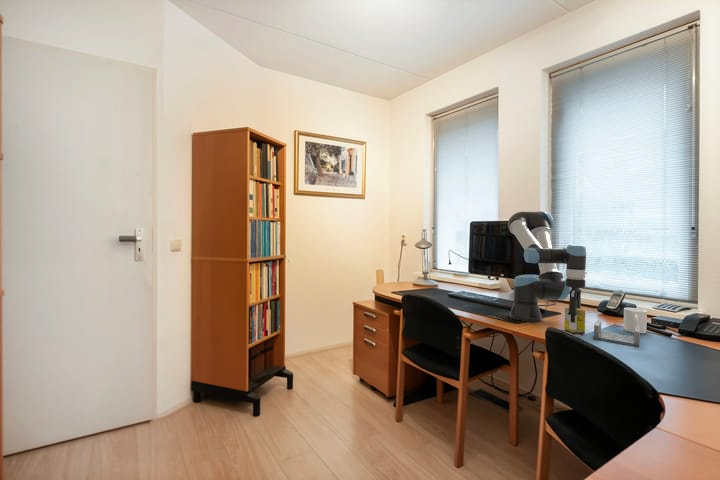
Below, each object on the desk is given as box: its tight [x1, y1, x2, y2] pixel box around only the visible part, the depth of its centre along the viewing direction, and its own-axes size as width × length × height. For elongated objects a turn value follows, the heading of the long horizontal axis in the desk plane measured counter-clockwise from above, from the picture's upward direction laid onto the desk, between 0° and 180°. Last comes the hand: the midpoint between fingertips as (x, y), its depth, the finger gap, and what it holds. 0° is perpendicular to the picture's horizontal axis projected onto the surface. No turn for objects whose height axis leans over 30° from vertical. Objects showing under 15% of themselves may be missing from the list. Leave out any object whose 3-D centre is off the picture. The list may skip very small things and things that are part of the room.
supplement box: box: [564, 306, 586, 335], centre depth 154 cm, size 6×6×11 cm
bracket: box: [593, 319, 641, 348], centre depth 144 cm, size 15×12×6 cm
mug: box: [623, 307, 648, 334], centre depth 154 cm, size 12×8×10 cm
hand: (574, 327), depth 154 cm, fingers closed on supplement box, 8 cm apart
